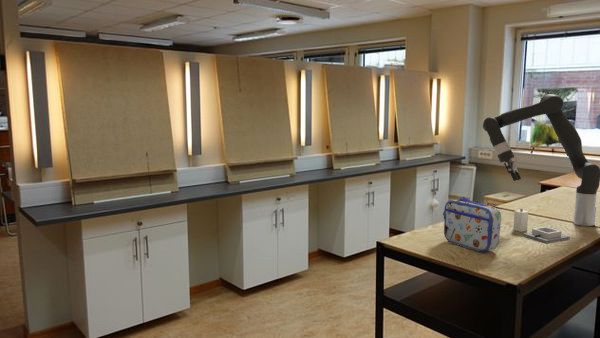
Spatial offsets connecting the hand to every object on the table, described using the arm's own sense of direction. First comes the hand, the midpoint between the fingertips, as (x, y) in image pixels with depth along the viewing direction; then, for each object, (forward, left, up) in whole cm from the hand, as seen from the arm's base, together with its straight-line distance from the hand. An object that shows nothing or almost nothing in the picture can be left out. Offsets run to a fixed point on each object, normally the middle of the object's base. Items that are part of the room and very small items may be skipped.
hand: (517, 179), depth 240 cm
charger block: (+2, +6, -25) cm, 26 cm away
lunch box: (+45, +15, -26) cm, 54 cm away
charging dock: (+1, +20, -25) cm, 32 cm away
